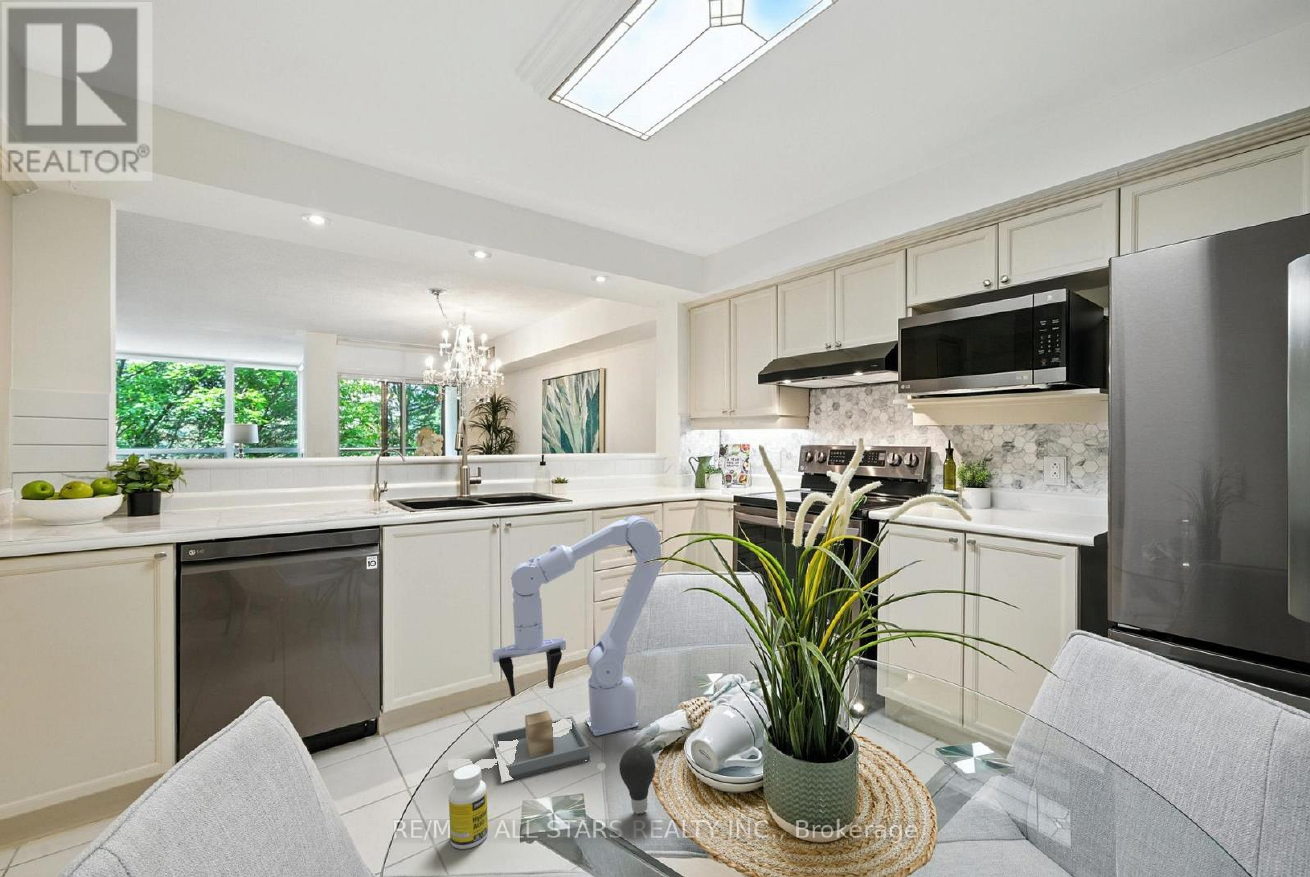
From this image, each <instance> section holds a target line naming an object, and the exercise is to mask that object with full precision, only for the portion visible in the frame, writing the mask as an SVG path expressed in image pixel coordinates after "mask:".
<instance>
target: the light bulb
mask: <svg viewBox="0 0 1310 877" xmlns="http://www.w3.org/2000/svg"><path fill="white" fill-rule="evenodd" d="M618 766H619V774H620V777H621V779H622V782H623V783H624V785H625V787H626V788H627V790H628V793H629V796H630V800H631V809H632V811H633V813H636V814H637V813H638V814H641V813H643V814H644V813H645V812H646V811H647V810H648V795H649V789H650V785H651V784H652V780H653V779H654V777H655V772H656V763H655V759H654V756H653V754H652V752H650V750H648V749H647V748H645V747H643V746H641V745H640V746H639V745H637V746H631V747H630V748H628V749H627V750H625V752H624V753H623V754H622V756H621V758H620V761H619V765H618ZM638 814H637V815H638Z"/></svg>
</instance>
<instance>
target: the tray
mask: <svg viewBox="0 0 1310 877" xmlns="http://www.w3.org/2000/svg"><path fill="white" fill-rule="evenodd" d="M565 718H566V719H571V721H572V729H570V730H569V733H567V734H566V735H563V736H561V737H553V746H554V752H551V753H547V754H543V755H539V756H535V757H531V758H530V755H529V752H528V750H527V745H526V726H523V727H519V728H515V729H510V730H505V731H502V732H497V733H493V734H492V741H494V744H495V747H496V748H497V747H499V744H498V741H513V740H516V739H517V740H518V741H519V742H518V744H517V746H516V750H517V751H516V753H515V760H514V762H513V763H512V764H510V765H506V767H507V768H508V770H509V775H510V776H511V777H512V778H513V779H514V780H515V781H516V780H520V779H522V778H527V777H531V776H534V775H539V774H542V773H547V772H550V771H553V770H554V771H555V770H559V769H561V768H566V767H570V766H573V765H578V764H581V762H582V763H584V762H583V761H585V760H588V761H591V753H590V752H591V750H590V749H591V748H590V745H589V743H588V741H587V739H586V738H585V736H584V734H583V732H582V730H581V729H580V727H579V726H578V724H577V722H576V721H575V718H574V717H573V716H572V715H571V716H567V717H565ZM561 719H562V718H559V719H554V720H552V723H556V722H558V721H560V720H561ZM588 761H587V762H588ZM514 780H513V781H514Z"/></svg>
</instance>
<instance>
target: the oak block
mask: <svg viewBox="0 0 1310 877" xmlns="http://www.w3.org/2000/svg"><path fill="white" fill-rule="evenodd" d="M552 721H553V719H552V717H551V715H550V712H549V711H548V710H545V711H544V710H543V711H539V712H536V713H535V712H534V713H530V714H526V715H524V722H525V726H524V727H526V745H527V750H528V752H529V755H530V758H531V757H535V756H539V755H543V754H547V753H551V752H554V746H553V727H552Z"/></svg>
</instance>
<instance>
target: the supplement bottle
mask: <svg viewBox="0 0 1310 877" xmlns="http://www.w3.org/2000/svg"><path fill="white" fill-rule="evenodd" d="M452 777H453V778H452V779H453V786H452V787H451V789H450V790H449V793H448V807H449V808H448V809H449V816H448V818H449V838H450V844H451V845H452V847H454V848H456V849H459V850H460V849H461V850H466V849H471V848H474V847H476V846H478V845H480V844H481V843H483V842H484V841H485V839H487V837H488V834H489V833H488V832H489V821H488V820H489V818H488V797H487V796H488V794H487V793H488V791H487V785H486V783H485V782H484V780H482V769H481V767H480V766H479V765H478V764H477V765H476V764H469V765H464V766H462V767H460V768H458V769H456V770H455V771H454V772H453V776H452Z"/></svg>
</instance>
